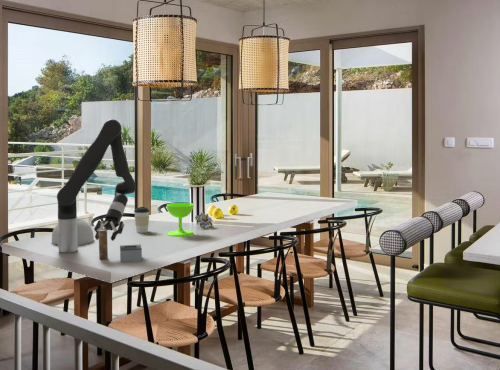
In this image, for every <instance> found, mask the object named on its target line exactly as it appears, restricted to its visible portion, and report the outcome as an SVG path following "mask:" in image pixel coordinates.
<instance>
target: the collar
mask: <svg viewBox="0 0 500 370" xmlns="http://www.w3.org/2000/svg"><path fill="white" fill-rule="evenodd" d="M119 253H120V254H119V257H120V260H119V261H120V262H121V263H129V262H142V261H143V254H142V253H143V250H142V245H141V244H123V245H121V244H120V245H119Z"/></svg>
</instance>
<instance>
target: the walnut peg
mask: <svg viewBox="0 0 500 370" xmlns="http://www.w3.org/2000/svg"><path fill="white" fill-rule="evenodd" d="M98 248H99V249H98V253H99V254H98V255H99V257H98V259H99V260H101V261H102V260H103V261H104V260H108V259H109V257H108V256H109V249H108V230H102V229H101V230H99V239H98Z"/></svg>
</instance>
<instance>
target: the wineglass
mask: <svg viewBox="0 0 500 370" xmlns="http://www.w3.org/2000/svg"><path fill="white" fill-rule="evenodd" d="M166 208H167V211H168V212H169V214H170V215H171V216H173V217H174V218H177V219H178V228H177V229H176V230H171V231H168V232H167V233H166V235H167V236H169V237H172V238H174V237H175V238H183V237H191V236H193V234H195V233H194V232H193V231H192V230H186V229H184V228H183V218H186V217H188V216H189V215H190V214H191V213H192V211H193V209H194V203H192V202H172V203H171V202H170V203H167V204H166Z"/></svg>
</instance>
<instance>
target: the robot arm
mask: <svg viewBox="0 0 500 370" xmlns="http://www.w3.org/2000/svg"><path fill="white" fill-rule="evenodd" d="M122 136H123V135H122V125H121V123H120V122H119V121H118V120H116V119H107V120H106V121H105V122H104V123H103V125H102V126H101V130H100V131H99V133H98V135H97V136H96V138H95V140H94V141H93V142H92V143H91V144H90V146H89V147H88V148H87V150H86V151H85V152H84V154H83V155H81V158H80V159H79V161H78V163H77V164H76V166H75V168H74V170H73V171H72V174H71V175H70V178H69V179H68V180H67V182H66V183H65V184H64V185H63V187H62V188H60V189H59V190H58V191H57V195H56V199H57V224H58V232H59V234H58V245H57V246H58V253H64V254H65V253H74V252H77V251H79V250H78V248H79V245H78V243H77V217H78V215H77V214H78V213H77V212H78V211H77V210H78V209H77V197H78V195H79V193H80V191H81V190H82V188H83V186H84V185H85V184H86V183H87V181H88V180H89V179H90V178H91V176H93V174H94V173H95V171H96V170H97V168H98V167H99V166H100V164H101V163H102V160H103V159H104V157H105V154H106V152H107V150H108V149H109V146H110V150H111V157H112V162H113V168H114V172H115V175H116V177H117V178H121V179H122V180H123V181H122V180H121V181H119V182H118V183H117V184H116V185H115V188H114V197H113V200H112V202H111V204H110V206H109V208H108V210H107V212H106V215H105V218H104V220H103V221H102V220H97V221H96V225H95V226H94V228H93V230H94V232H95V235H94V238H95V239H96V240H98V241H99V230H107V231H112V234H111V237H110V240H111V242H112V241H115V240H116V238H117V235H121V234H122V233H123V230H124V227H125V223H124V222H123V221H121V220H122V218H123V215H124V213H125V209H126V206H127V204H128V202H129V199H128V196H127V195H130V194H133V193H135V192H136V189H137V185H136V181H135V179H134V178H133V175H132V174H131V172H130V168H129V163H128V160H127V157H126V153H125V150H124V145H123V139H122ZM117 227H118V228H117Z"/></svg>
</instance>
